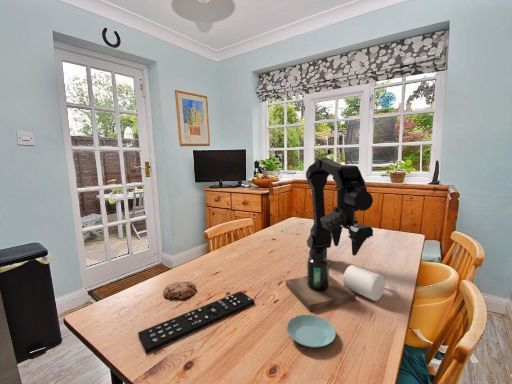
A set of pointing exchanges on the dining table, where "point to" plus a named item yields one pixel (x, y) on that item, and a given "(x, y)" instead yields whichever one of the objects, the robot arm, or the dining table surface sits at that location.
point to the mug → (364, 282)
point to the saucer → (311, 331)
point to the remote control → (193, 321)
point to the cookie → (179, 290)
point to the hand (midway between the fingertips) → (344, 250)
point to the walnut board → (319, 293)
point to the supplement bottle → (318, 270)
